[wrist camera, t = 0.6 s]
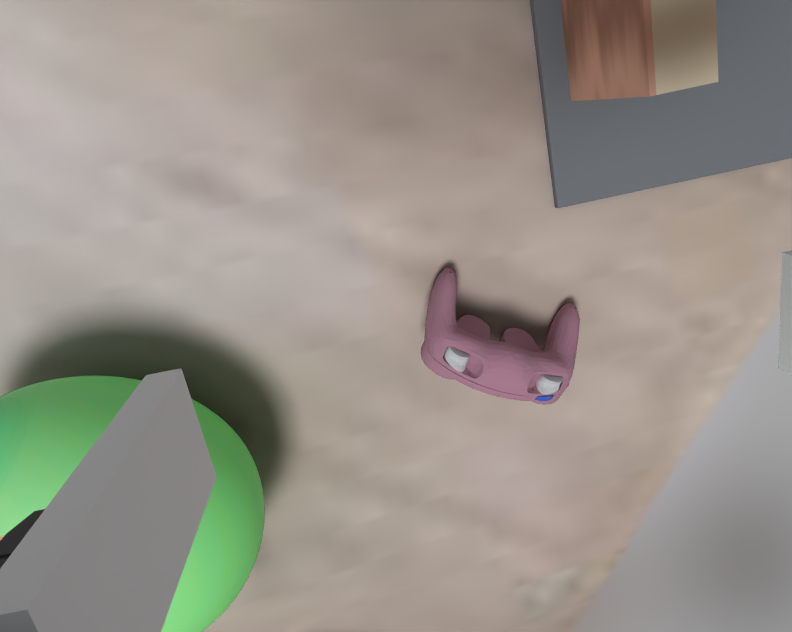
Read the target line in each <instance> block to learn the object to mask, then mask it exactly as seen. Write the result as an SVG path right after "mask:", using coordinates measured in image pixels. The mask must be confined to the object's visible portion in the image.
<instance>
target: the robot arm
mask: <svg viewBox="0 0 792 632" xmlns="http://www.w3.org/2000/svg"><path fill="white" fill-rule="evenodd" d="M778 359H779V360H778V368H780V369H781V370H783V371H785V372H786V373H788V374H789V375H791V376H792V251H787V252H782V270H781V299H780V329H779V357H778ZM216 477H217V476H216V473H215V470H214V467H213V464H212V461H211V458H210V454H209V451H208V448H207V445H206V442H205V439H204V436H203V433H202V430H201V427H200V424H199V421H198V418H197V415H196V411H195V408H194V405H193V402H192V399H191V396H190V393H189V390H188V387H187V384H186V381H185V378H184V375H183V372H182V369H181V368H180V369H175V370H170V371H164V372H159V373H154V374H149V375H146V376H145V377H144V378H143V380H142V381H141V382H140V384H139V385H138V386H137V388H136V389H135V390H134V392H133V393H132V394H131V396H130V397H129V398H128V400H127V401H126V402H125V404H124V405H123V406H122V408H121V409H120V410H119V412H118V413H117V414H116V416H115V417H114V418H113V420H112V421H111V422H110V424H109V425H108V426H107V428H106V429H105V430H104V432H103V433H102V434H101V436H100V437H99V438H98V440H97V441H96V442H95V444H94V445H93V446H92V448H91V449H90V450H89V452H88V453H87V454H86V456H85V457H84V458H83V459H82V461H81V462H80V463H79V465H78V466H77V467H76V469H75V470H74V471H73V473H72V474H71V475H70V477H69V478H68V479H67V481H66V482H65V483H64V485H63V486H62V487H61V489H60V490H59V491H58V493H57V494H56V495H55V497H54V498H53V499H52V501H51V502H50V503H49V505H48V506H47V507H46V509H42V510H37V511H34V512H33V513H32V514H30V515H29V516H28V517H27V518H25V519H24V520H23V521H22V522H20V523H19V524H18V525H17V526H15V527H14V528H13V529H12V530H10V531H9V532H8V533H6V535H5V536H4V537H3V538H2V540H1V541H0V632H161V630H162V627H163V625H164V622H165V619H166V616H167V614H168V611H169V608H170V605H171V602H172V600H173V597H174V594H175V591H176V588H177V586H178V583H179V580H180V577H181V575H182V572H183V569H184V566H185V563H186V561H187V558H188V555H189V552H190V549H191V547H192V544H193V541H194V538H195V536H196V533H197V530H198V527H199V524H200V522H201V519H202V516H203V513H204V510H205V508H206V505H207V502H208V499H209V497H210V494H211V491H212V488H213V485H214V483H215V480H216Z"/></svg>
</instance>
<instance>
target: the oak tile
mask: <svg viewBox="0 0 792 632" xmlns="http://www.w3.org/2000/svg"><path fill="white" fill-rule="evenodd" d="M560 1H561V11H562V20H563V30H564V39H565V48H566V58H567V67H568V77H569V86H570V96H571V101H584V100H601V99H618V98H635V97H650V96H655V95H659V94H664V93H669V92H673V91H678V90H683V89H687V88H692V87H696V86H701V85H706V84H710V83H715V82H719V81H718V50H717V19H716V0H560Z"/></svg>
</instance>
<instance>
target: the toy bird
mask: <svg viewBox="0 0 792 632" xmlns="http://www.w3.org/2000/svg"><path fill="white" fill-rule="evenodd" d="M141 381H142V380H137V379H131V378H124V377H115V376H74V377H65V378H58V379H52V380H47V381H43V382H39V383H35V384H31V385H28V386H25V387H22V388H19V389H17V390H14V391H12V392H9V393H7V394H5V395H3V396H1V397H0V541H1V540H2V538H3V537H4V536H5V535H6V533H8V532H9V531H10V530H12V529H13V528H14V527H15V526H17V525H18V524H19V523H20V522H22V521H23V520H24V519H25V518H27V517H28V516H29V515H30V514H32V513H33V512H34V511H37V510H42V509H46V507H47V506H48V505H49V503H50V502H51V501H52V499H53V498H54V497H55V495H56V494H57V493H58V491H59V490H60V489H61V487H62V486H63V485H64V483H65V482H66V481H67V479H68V478H69V477H70V475H71V474H72V473H73V471H74V470H75V469H76V467H77V466H78V465H79V463H80V462H81V461H82V459H83V458H84V457H85V456H86V454H87V453H88V452H89V450H90V449H91V448H92V446H93V445H94V444H95V442H96V441H97V440H98V438H99V437H100V436H101V434H102V433H103V432H104V430H105V429H106V428H107V426H108V425H109V424H110V422H111V421H112V420H113V418H114V417H115V416H116V414H117V413H118V412H119V410H120V409H121V408H122V406H123V405H124V404H125V402H126V401H127V400H128V398H129V397H130V396H131V394H132V393H133V392H134V390H135V389H136V388H137V386H138V385H139V384H140V382H141ZM192 402H193V405H194V408H195V411H196V415H197V418H198V421H199V424H200V427H201V430H202V433H203V436H204V439H205V442H206V445H207V448H208V451H209V454H210V458H211V461H212V464H213V467H214V470H215V473H216V476H217V477H216V480H215V483H214V485H213V488H212V491H211V494H210V497H209V499H208V502H207V505H206V508H205V510H204V513H203V516H202V519H201V522H200V524H199V527H198V530H197V533H196V536H195V538H194V541H193V544H192V547H191V549H190V552H189V555H188V558H187V561H186V563H185V566H184V569H183V572H182V575H181V577H180V580H179V583H178V586H177V588H176V591H175V594H174V597H173V600H172V602H171V605H170V608H169V611H168V614H167V616H166V619H165V622H164V625H163V627H162V630H161V632H202V631H203V630H205V629H206V628H207V627H208V626H210V625H211V624H212V623H213V622H214V621H215V620H216V619H217V618H218V617H219V616H220V615H221V614H222V613H223V612H224V611H225V610H226V609H227V608H228V607H229V606H230V604H231V603H232V602H233V601H234V599H235V598H236V597H237V595H238V594H239V592H240V591H241V589H242V587H243V586H244V584H245V582H246V581H247V579H248V577H249V575H250V573H251V570H252V568H253V566H254V563H255V561H256V558H257V555H258V552H259V548H260V544H261V540H262V535H263V528H264V515H265V507H264V495H263V489H262V484H261V480H260V476H259V473H258V470H257V467H256V465H255V462H254V460H253V458H252V456H251V454H250V452H249V451H248V449H247V447H246V446H245V444H244V443H243V441H242V440H241V438H240V437H239V436H238V435H237V433H236V432H235V431H234V430H233V429H232V428H231V427H230V426H229V425H228V424H227V423H226V422H225V421H224V420H223V419H222V418H220V417H219V416H218V415H217V414H215V413H214V412H213V411H211V410H210V409H208V408H207V407H205V406H204V405H202V404H200V403H199V402H197V401H195V400H193V399H192Z"/></svg>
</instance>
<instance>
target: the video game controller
mask: <svg viewBox="0 0 792 632" xmlns="http://www.w3.org/2000/svg"><path fill="white" fill-rule="evenodd" d="M456 295H457V280H456V276H455V273H454V271H453V270H452V269H451V268H446V269H444V270H443V271H442V272H441V273H440V274H439V275H438V277H437V279H436V281H435V283H434V286H433V289H432V292H431V296H430V300H429V305H428V311H427V318H426V329H425V340H424V343H423V345H422V347H421V357H422V360H423V362H424V363H425V365H426V366H427V367H428V368H429V369H430V370H432V371H433V372H434V373H435V374H437V375H439V376H441V377H443V378H447V379H455V380H457V381H458V382H460V383H462V384H465V385H467V386H469V387H471V388H474V389H476V390H479V391H482V392H485V393H488V394H491V395H494V396H498V397H503V398H508V399H514V400H522V401H533V402H535V403H537V404H543V405H545V404H552V403H554V402H556V401H557V400H558V399H559V397H560V396H561V395H562V393H563V392H564V391H565V389H566V388H567V387H568V385H569V381H570V379H571V377H572V373H573V369H574V364H575V357H576V350H577V343H578V335H579V324H580V318H579V314H578V311H577V309H576V307H575V306H574V305H573V304H571V303H567V304H565V305H564V306H563V307H561V309H560V310H559V311H558V313H557V314H556V316H555V318H554V320H553V322H552V324H551V327H550V330H549V333H548V335H547V339H546V342H545V346H544V349H543V350H542V349H540V348H539V347H538V345H537V344H536V342H535V341H534V339H533V338H532V336H531V335H530V334H529V333H527V332H526V331H524V330H522V329H519V328H509V329H507V330H506V331H505V332H504V334H503V335H502V337H501V338H500V340H499V341H494V340H489V337H490V328H489V326H488V325H487V324H486V323H485V322H484V321H483V320H481V319H480V318H478V317H475V316H472V315H464V316H462V317H461V318H460V319H459V320H458V321H456V308H455V307H456Z"/></svg>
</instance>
